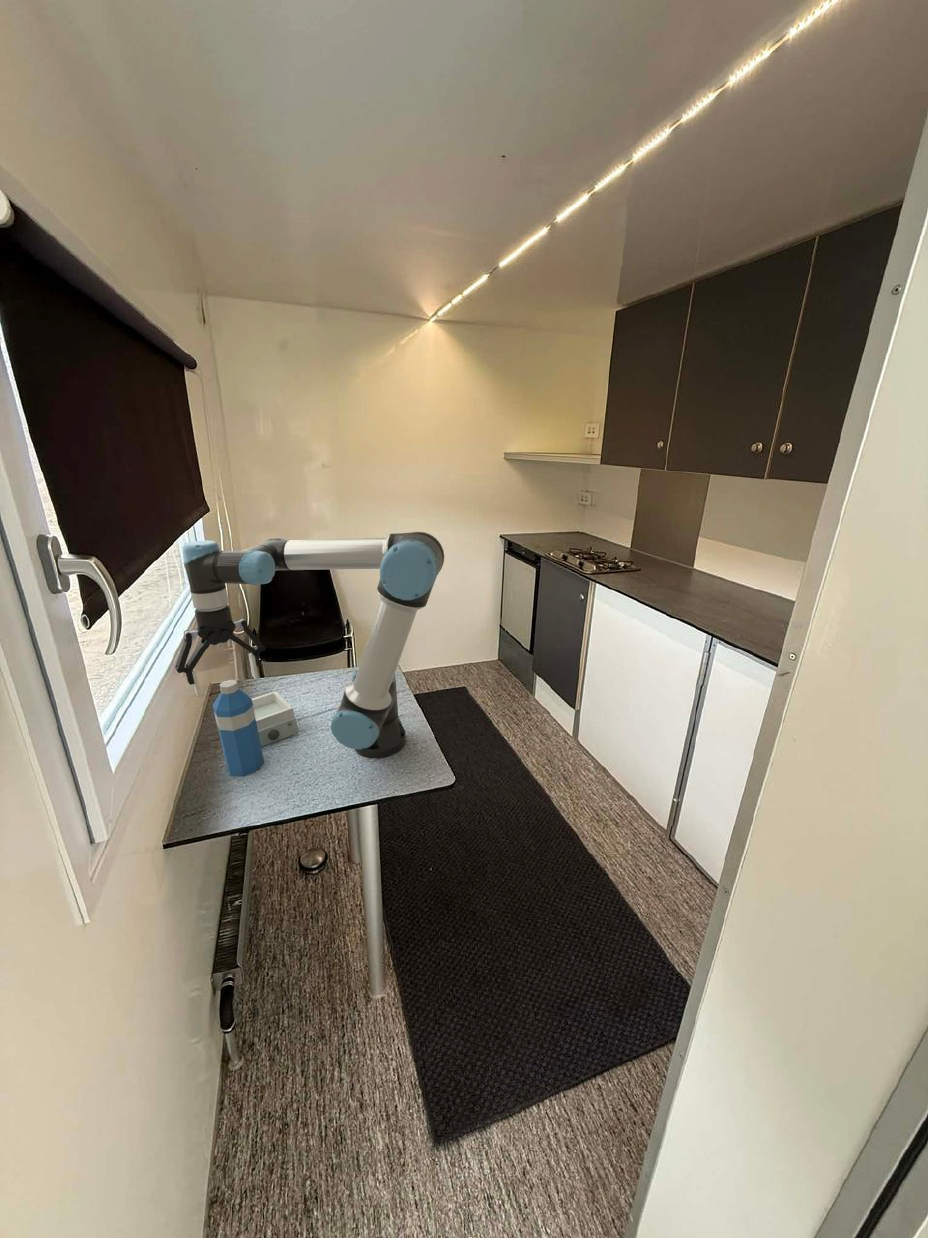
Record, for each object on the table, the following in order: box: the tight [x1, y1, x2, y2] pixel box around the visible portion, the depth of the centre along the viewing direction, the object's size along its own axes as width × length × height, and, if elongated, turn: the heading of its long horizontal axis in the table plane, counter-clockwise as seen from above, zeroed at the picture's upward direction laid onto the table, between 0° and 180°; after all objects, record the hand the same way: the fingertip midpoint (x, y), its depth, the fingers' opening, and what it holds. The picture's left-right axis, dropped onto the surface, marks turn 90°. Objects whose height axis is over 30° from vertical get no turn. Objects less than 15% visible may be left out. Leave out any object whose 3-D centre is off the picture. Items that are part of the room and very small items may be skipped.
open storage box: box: [251, 690, 299, 748], centre depth 144 cm, size 17×14×8 cm
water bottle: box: [212, 679, 265, 777], centre depth 125 cm, size 9×9×25 cm
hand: (227, 686), depth 121 cm, fingers open, 13 cm apart
